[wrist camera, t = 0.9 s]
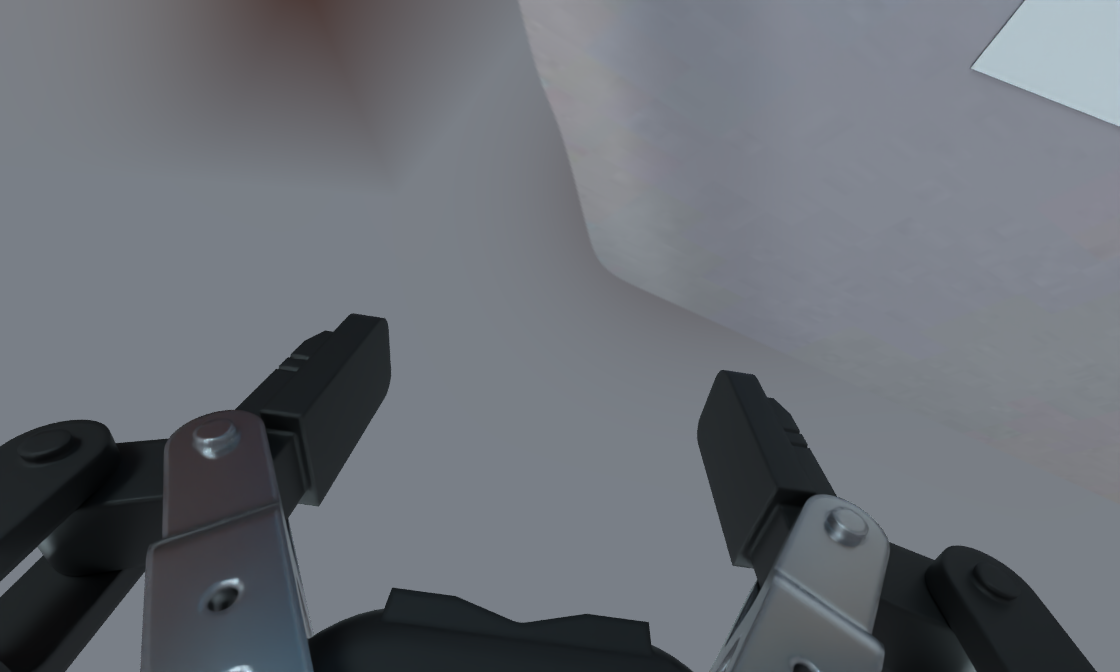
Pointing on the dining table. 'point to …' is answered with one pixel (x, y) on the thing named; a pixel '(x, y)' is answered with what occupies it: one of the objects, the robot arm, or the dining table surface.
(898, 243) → the dining table surface
